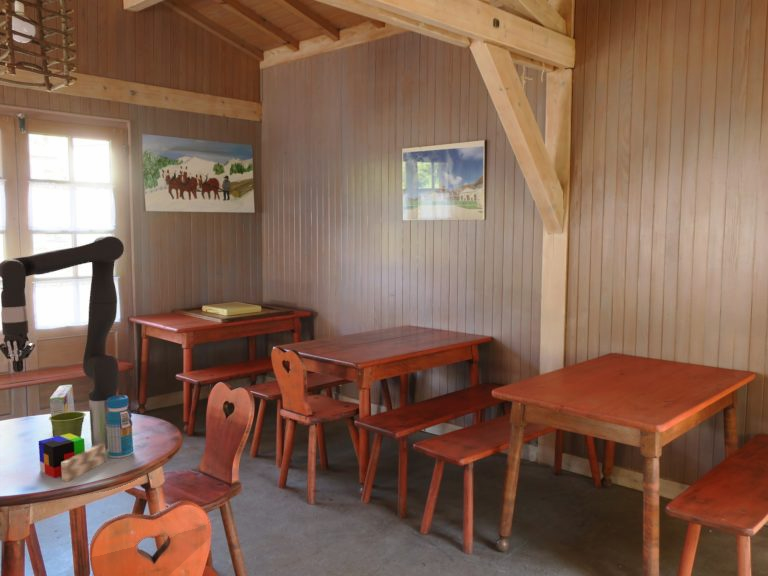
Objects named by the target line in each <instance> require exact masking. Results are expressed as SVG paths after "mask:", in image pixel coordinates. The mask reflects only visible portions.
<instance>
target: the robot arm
mask: <svg viewBox="0 0 768 576" xmlns="http://www.w3.org/2000/svg"><path fill="white" fill-rule="evenodd" d="M124 252H125V246H124V244H123V242H122V240H121V239H120V238H119V237H116V236H113V235H104V236H99V237H97V238H95V239H94V241H92V242H89V243H87V244H82V245H78V246H72V247H67V248H60V249H54V250H53V249H52V250H49V251H44V252H39V253H35V254H31V255H29V256H20V257H15V258H7V259H5V260H3V261H1V262H0V278H1V279H2V281H1V283H2V290H1V293H0V303H1V304H0V305H1V313H0V314H1V315H0V316H1V317H0V319H1V329H2V330H1V331H2V335H3V337H4V338H3V341H2V342H1V343H0V351H1V353H2V355H4V357H5V358H6V359H7V360H11V361H12V369H13V372H15V373H22V372H23V370H24V360H26V359H28V358H29V356H30V355H31V354H32V352H33V350H34V349H35V347H36V344H35V343H31V342H30V341H29V337H28V334H29V318H28V310H27V302H26V301H27V300H26V299H27V298H26V292H25V291H26V279H27V277H30V276H34V275H35V276H37V275H38V276H39V275H45V274H49V273H53V272H57V271H61V270H64V269H68V268H72V267H76V266H79V265H83V264H88V263H89V264H90V263H91V272H92V273H91V282H90V289H89V290H90V291H89V301H88V302H89V303H88V320H87V335H86V341H85V342H86V343H85V349H84V354H83V361H82V370H83V372H84V375H85V376H86V377H88V378H91V379H94V384H93V385H94V386H93V389H91V390H89V392H88V408H89V423H90V439H91V442H90V443H91V447H93V446H96V445H98V444H105V449H108V443H107V429H106V423H107V420H106V415H107V413H108V411H109V410H110V409H108V406H107V399H108V398H109V397H113V396H118V394H117V393H118V390H119V386H120V384H119V383H120V382H119V381H120V379H119V378H120V377H119V376H120V374H119V363H118V360H117V358H116V357H115V356H113V355H112V354H108V353H106V348H107V347H106V345H107V340H108V335H109V333H110V331H111V330H112V328H113V326H114V323H115V321H116V317H117V313H118V293H117V288H116V284H115V279H114V270H115V263H116V262H115V261H117V260H118V259H119V258H121V257H122V255H124Z"/></svg>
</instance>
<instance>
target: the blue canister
mask: <svg viewBox="0 0 768 576" xmlns="http://www.w3.org/2000/svg"><path fill="white" fill-rule="evenodd" d="M107 406H108V409H110V410H109V411H108V413H107V415H106V420H107V423H106V429H107V443H108V448H107V456H108V457H109V458H112V459H120V458H121V459H122V458H126V457H129V456H132V455H133V453H134V444H133V441H134V440H133V421H132V413H131V410H129V408H128V407H129V397H128V396H127V395H117V396H113V397H109V398H108V399H107Z"/></svg>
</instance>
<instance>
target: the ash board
mask: <svg viewBox="0 0 768 576" xmlns="http://www.w3.org/2000/svg"><path fill="white" fill-rule="evenodd" d="M106 458H107V457H106V448H105V444H98V445H96V446H93V447H92V446H91V447H90V448H88V449H85V451H83V452H81V453H79V454H77V455H75V456H73V457H71V458H69V459H67V460H65V461H63V462H61V471H62V476H61V481H62V482H66V483H67V482H70V481H72V480H74V479H76V478H78V477H79V476H81V475H82V474H85V473H87V472H89V471H91V470H92V469H94V468H96V467H98V466H100V465H102V464H104V463H105V462H107V460H106Z"/></svg>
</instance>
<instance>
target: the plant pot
mask: <svg viewBox="0 0 768 576" xmlns="http://www.w3.org/2000/svg"><path fill="white" fill-rule="evenodd" d="M85 416H86V413H85V412H83V411H75V412H65V413H59V414H55V415H53V416H51V415H50V416H49V417H48V421H50V423H51V427H52V426H53V429H54V434H55V436H54V437H57V436H61V435H65V434H69V433H70V434H73V435H75V436H78V437H81V438H82V431H83V424H84V421H85V420H84V419H85Z"/></svg>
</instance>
